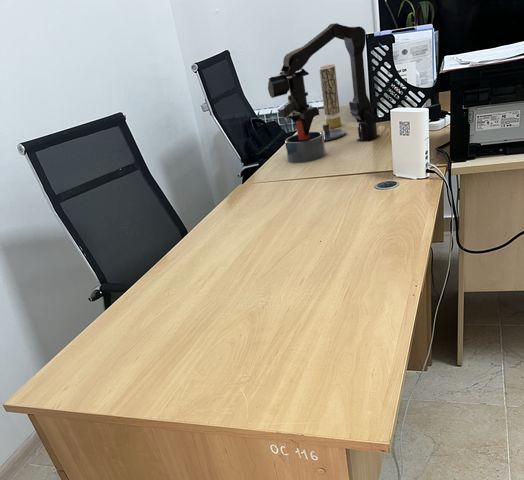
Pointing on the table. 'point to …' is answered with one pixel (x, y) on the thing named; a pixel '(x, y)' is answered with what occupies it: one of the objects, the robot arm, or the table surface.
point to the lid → (331, 133)
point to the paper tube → (330, 95)
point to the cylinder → (301, 131)
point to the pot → (305, 148)
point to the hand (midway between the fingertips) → (303, 134)
